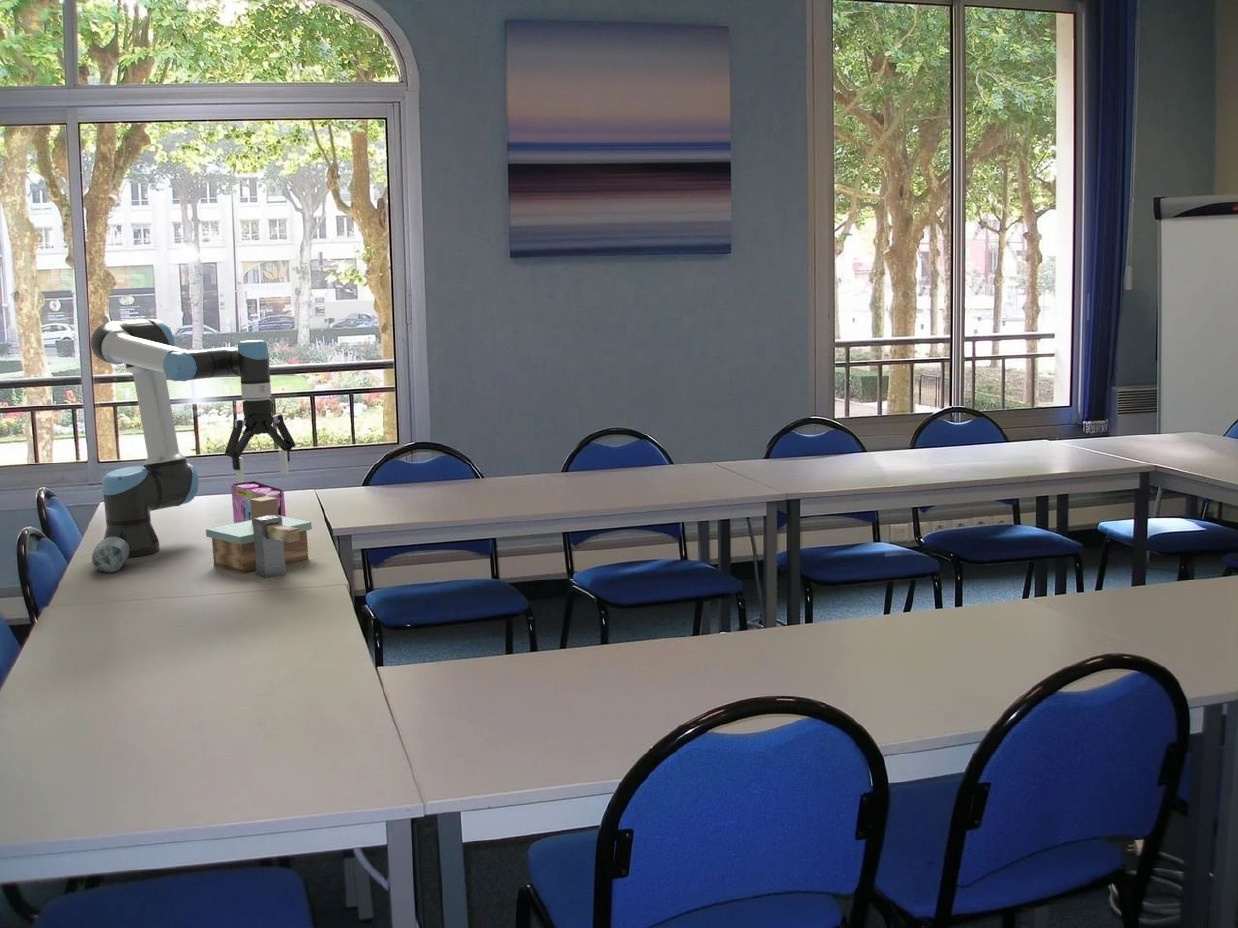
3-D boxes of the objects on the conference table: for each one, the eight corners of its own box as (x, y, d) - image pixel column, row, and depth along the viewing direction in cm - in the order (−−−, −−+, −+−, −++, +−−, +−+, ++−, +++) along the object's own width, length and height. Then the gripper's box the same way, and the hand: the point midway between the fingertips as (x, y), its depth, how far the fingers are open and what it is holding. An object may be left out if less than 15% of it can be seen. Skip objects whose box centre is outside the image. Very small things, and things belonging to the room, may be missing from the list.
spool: (129, 561, 322) (110, 528, 322) (95, 580, 320) (76, 547, 321) (144, 561, 335) (126, 530, 335) (112, 579, 334) (94, 547, 334)
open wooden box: (214, 565, 329) (211, 536, 328) (278, 551, 344) (276, 523, 343) (243, 573, 320) (241, 543, 319) (308, 558, 335) (306, 529, 334)
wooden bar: (254, 534, 318) (254, 523, 318) (264, 532, 320) (264, 521, 320) (289, 542, 308) (288, 530, 308) (299, 540, 311) (298, 528, 310)
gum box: (290, 536, 364) (287, 490, 361) (264, 540, 359) (261, 494, 357) (258, 523, 382) (255, 480, 380) (233, 527, 377) (230, 483, 375)
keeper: (256, 575, 317) (252, 518, 315) (276, 571, 322) (272, 514, 319) (265, 578, 315) (261, 520, 312) (285, 573, 319) (281, 516, 317)
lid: (206, 536, 328) (203, 503, 326) (277, 522, 344) (274, 490, 343) (240, 544, 318) (237, 510, 316) (311, 529, 334) (309, 496, 333)
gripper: (222, 404, 315) (229, 486, 318) (304, 395, 333) (310, 472, 337) (206, 403, 320) (213, 483, 323) (288, 393, 338) (293, 470, 342)
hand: (262, 478), depth 330 cm, fingers open, 13 cm apart
